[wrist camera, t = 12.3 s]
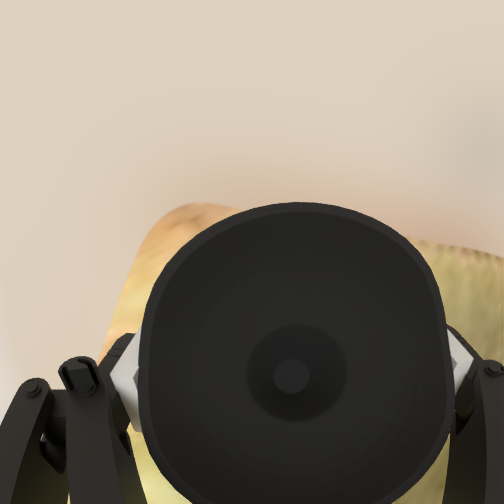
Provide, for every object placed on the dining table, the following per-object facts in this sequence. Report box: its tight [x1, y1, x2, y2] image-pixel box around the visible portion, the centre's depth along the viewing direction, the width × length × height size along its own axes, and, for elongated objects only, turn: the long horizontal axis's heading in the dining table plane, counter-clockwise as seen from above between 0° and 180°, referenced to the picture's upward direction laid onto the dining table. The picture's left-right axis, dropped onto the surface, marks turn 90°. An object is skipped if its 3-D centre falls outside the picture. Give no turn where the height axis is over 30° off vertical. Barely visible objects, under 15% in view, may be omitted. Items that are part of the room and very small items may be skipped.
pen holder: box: [137, 202, 455, 504], centre depth 11 cm, size 9×9×10 cm
